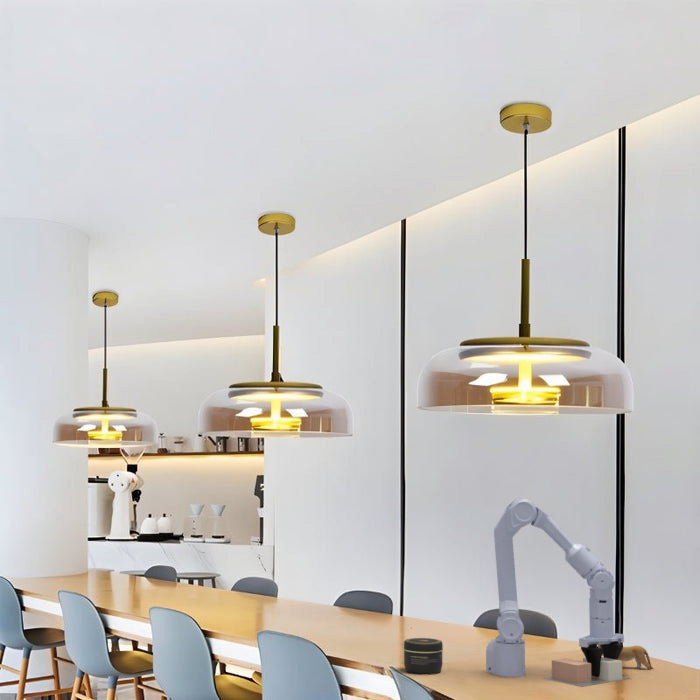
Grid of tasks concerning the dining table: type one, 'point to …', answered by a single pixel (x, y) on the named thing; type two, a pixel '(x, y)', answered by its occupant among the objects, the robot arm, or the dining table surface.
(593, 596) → the robot arm
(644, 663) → the lion figurine
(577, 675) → the terracotta brick
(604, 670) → the cream brick
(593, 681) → the baseplate
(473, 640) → the dining table surface
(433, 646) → the jar
